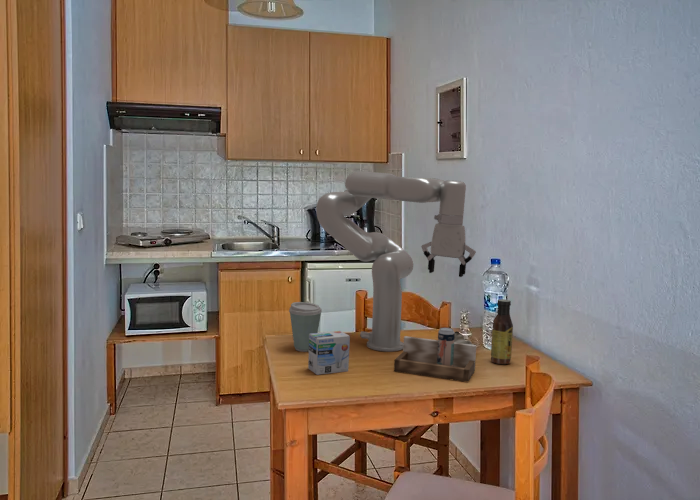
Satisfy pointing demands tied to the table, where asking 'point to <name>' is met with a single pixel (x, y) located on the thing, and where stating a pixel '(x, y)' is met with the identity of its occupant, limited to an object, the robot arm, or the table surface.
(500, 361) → the sauce bottle
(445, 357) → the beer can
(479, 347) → the table surface
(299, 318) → the disposable coffee cup
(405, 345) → the wooden tray
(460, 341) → the ceramic sculpture
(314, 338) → the light bulb box
